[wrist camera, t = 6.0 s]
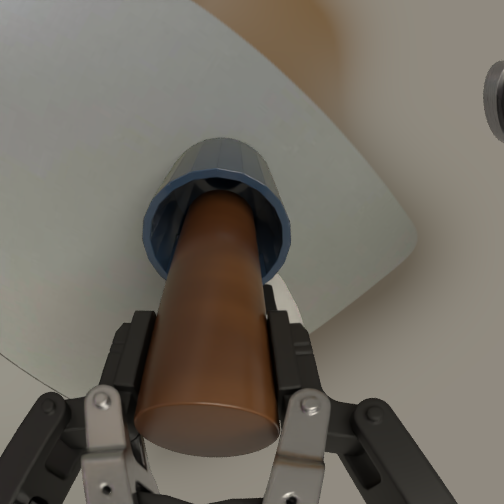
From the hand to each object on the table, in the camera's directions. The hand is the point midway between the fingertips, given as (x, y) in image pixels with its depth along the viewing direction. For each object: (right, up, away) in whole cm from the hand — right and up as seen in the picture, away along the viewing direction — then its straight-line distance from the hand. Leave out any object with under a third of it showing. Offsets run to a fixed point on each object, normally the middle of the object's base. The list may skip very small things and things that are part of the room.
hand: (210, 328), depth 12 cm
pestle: (0, +5, +8) cm, 9 cm away
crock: (-1, +8, +13) cm, 16 cm away
